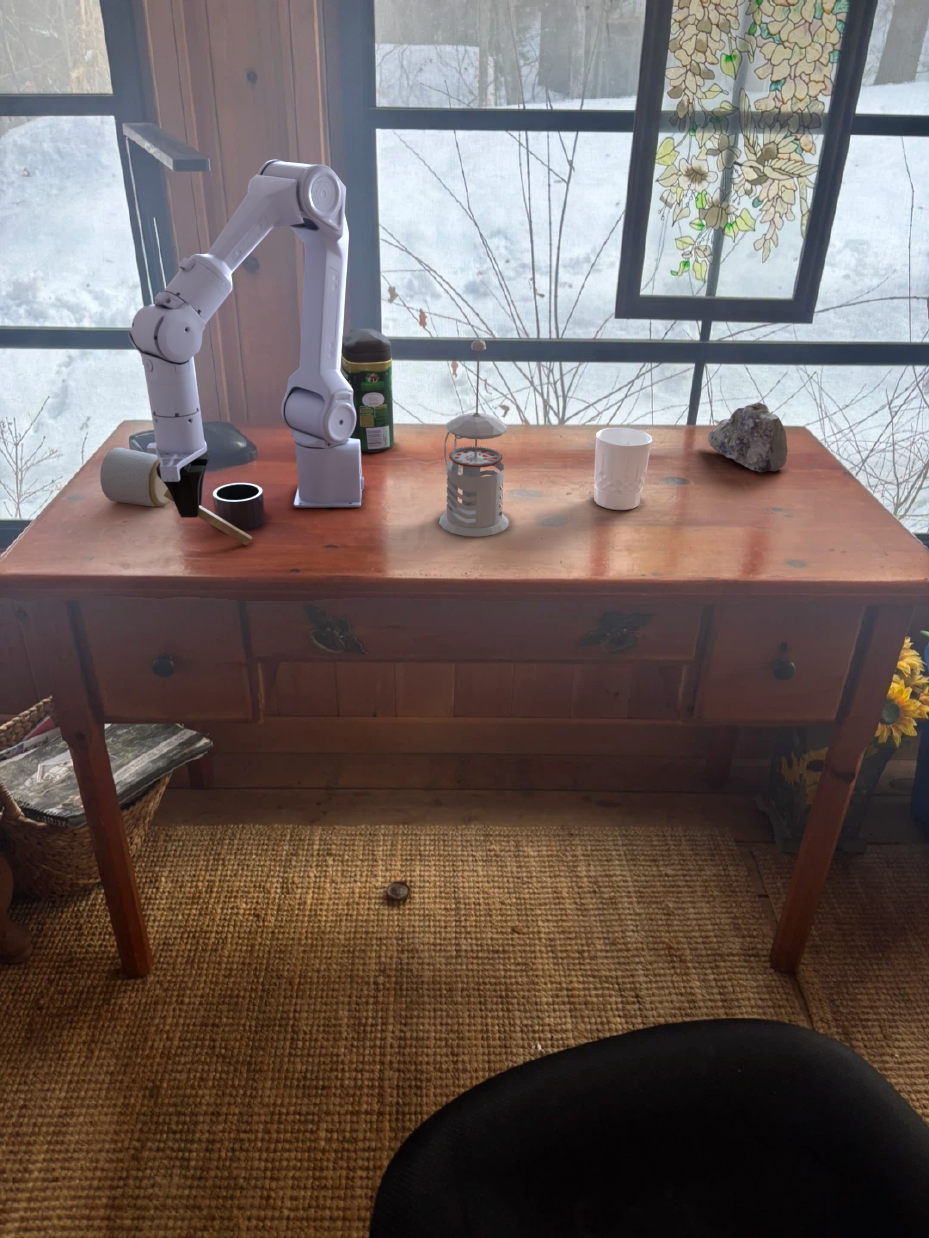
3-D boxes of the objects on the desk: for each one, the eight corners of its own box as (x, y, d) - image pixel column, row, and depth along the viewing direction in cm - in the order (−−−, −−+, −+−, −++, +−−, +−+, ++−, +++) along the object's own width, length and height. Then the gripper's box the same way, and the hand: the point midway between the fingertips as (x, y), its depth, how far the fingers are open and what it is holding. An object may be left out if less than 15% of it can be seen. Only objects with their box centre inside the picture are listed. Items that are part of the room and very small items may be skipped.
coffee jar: (342, 436, 157) (336, 325, 148) (388, 433, 159) (385, 324, 149) (349, 455, 149) (344, 340, 139) (397, 452, 151) (395, 338, 141)
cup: (268, 511, 129) (265, 482, 127) (262, 530, 123) (259, 501, 121) (220, 511, 129) (217, 483, 127) (212, 531, 123) (208, 501, 121)
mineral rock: (703, 446, 156) (712, 388, 151) (765, 447, 156) (777, 389, 151) (722, 473, 145) (733, 412, 140) (789, 475, 145) (802, 413, 140)
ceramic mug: (156, 515, 127) (148, 463, 123) (103, 509, 128) (94, 456, 125) (193, 488, 136) (187, 439, 132) (143, 483, 137) (135, 433, 134)
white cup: (649, 497, 136) (658, 432, 131) (635, 516, 130) (643, 449, 125) (599, 487, 139) (605, 424, 134) (582, 506, 133) (588, 440, 128)
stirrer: (252, 543, 120) (244, 484, 116) (251, 545, 119) (243, 486, 115) (174, 545, 120) (163, 486, 115) (173, 548, 119) (162, 489, 115)
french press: (462, 542, 122) (466, 353, 109) (419, 511, 130) (418, 332, 117) (523, 527, 126) (533, 343, 113) (477, 498, 135) (482, 324, 122)
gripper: (155, 392, 116) (171, 492, 123) (126, 429, 104) (145, 538, 111) (212, 392, 117) (224, 491, 123) (189, 429, 104) (204, 537, 111)
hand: (190, 513), depth 117 cm, fingers closed
